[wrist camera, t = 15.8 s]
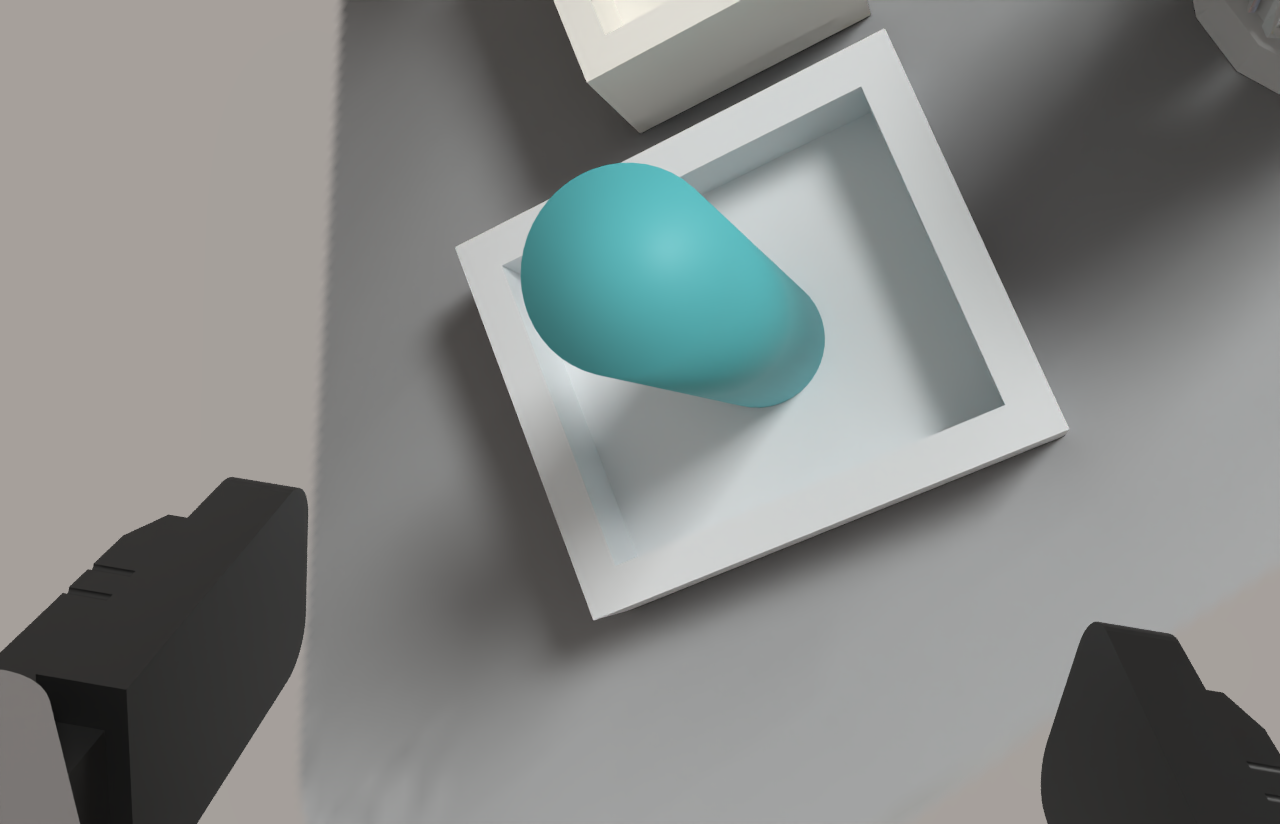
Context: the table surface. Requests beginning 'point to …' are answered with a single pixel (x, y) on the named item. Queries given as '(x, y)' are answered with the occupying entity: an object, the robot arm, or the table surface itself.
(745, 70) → the square box
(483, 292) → the tray
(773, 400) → the dowel
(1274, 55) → the french press
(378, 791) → the table surface
